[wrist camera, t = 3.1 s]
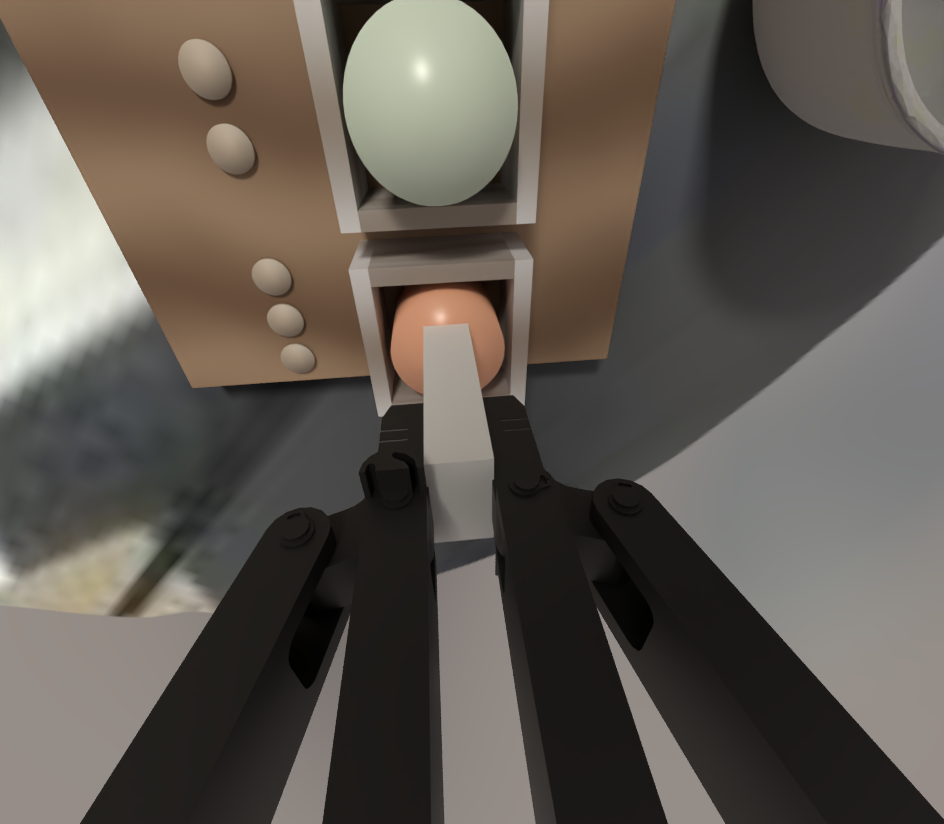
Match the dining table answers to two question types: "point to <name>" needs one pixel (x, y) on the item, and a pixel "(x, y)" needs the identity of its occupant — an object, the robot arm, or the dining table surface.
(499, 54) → the button two
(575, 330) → the button board
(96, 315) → the dining table surface
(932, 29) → the teacup
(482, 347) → the button three
